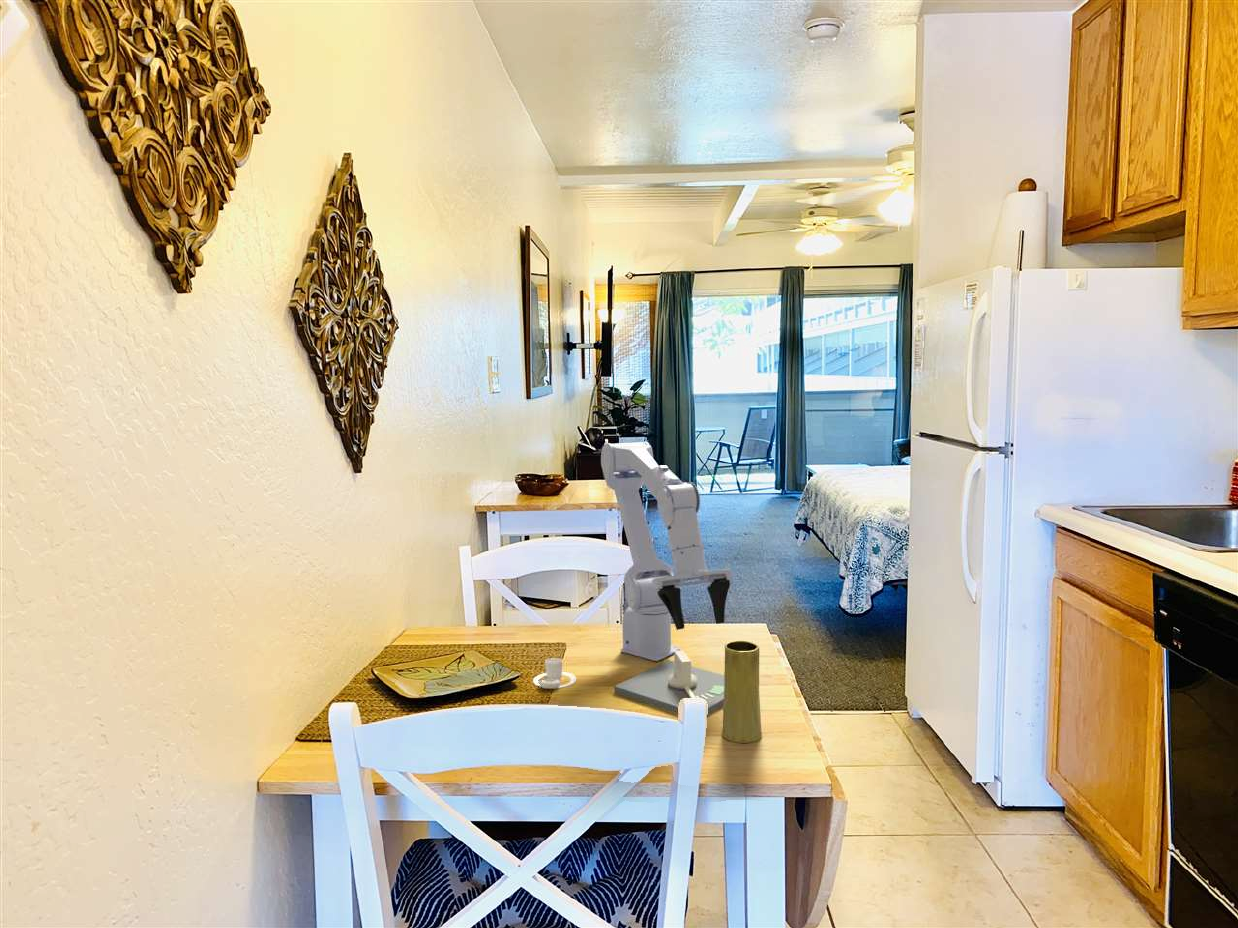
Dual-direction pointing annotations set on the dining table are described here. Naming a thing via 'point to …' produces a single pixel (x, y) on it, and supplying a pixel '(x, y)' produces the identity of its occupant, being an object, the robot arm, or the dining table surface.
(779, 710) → the dining table surface
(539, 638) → the dining table surface
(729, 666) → the vase
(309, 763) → the dining table surface
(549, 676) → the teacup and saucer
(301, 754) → the dining table surface
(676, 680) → the knob
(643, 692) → the dial board
